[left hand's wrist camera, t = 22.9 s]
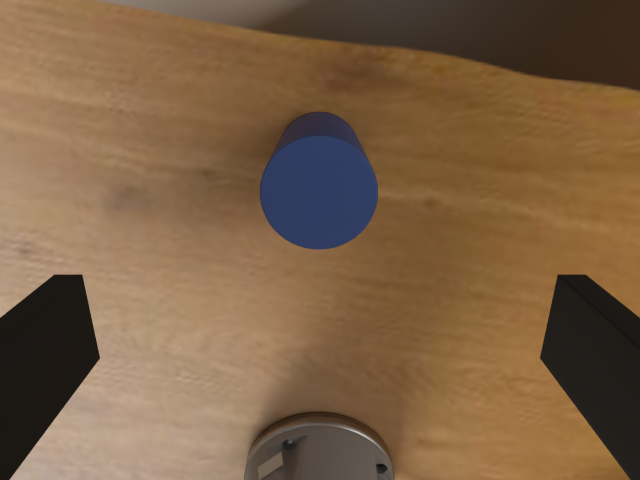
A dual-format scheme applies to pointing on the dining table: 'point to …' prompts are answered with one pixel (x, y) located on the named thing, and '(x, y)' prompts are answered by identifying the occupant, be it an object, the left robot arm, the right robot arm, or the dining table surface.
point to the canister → (319, 183)
